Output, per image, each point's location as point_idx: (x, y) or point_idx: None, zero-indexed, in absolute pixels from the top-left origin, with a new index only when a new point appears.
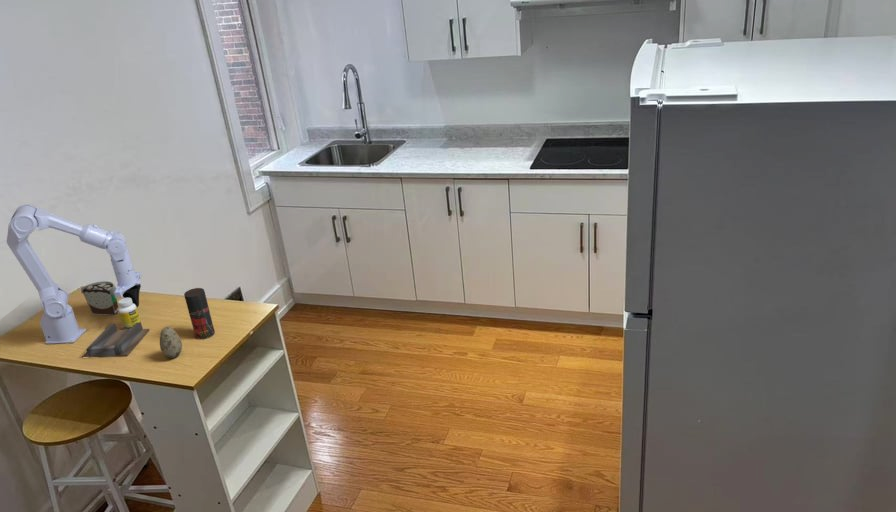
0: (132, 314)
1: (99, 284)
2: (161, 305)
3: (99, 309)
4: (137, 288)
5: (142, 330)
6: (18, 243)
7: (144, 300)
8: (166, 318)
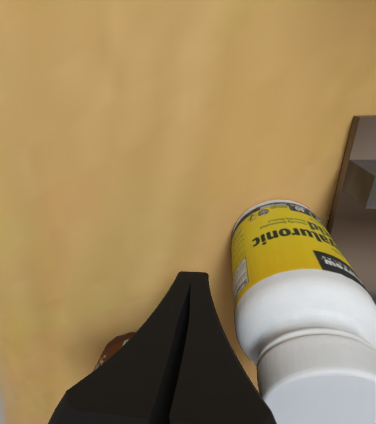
0: (346, 263)
1: None
2: (52, 180)
3: None
4: (153, 419)
5: (370, 154)
6: None
7: (29, 277)
8: (200, 66)
